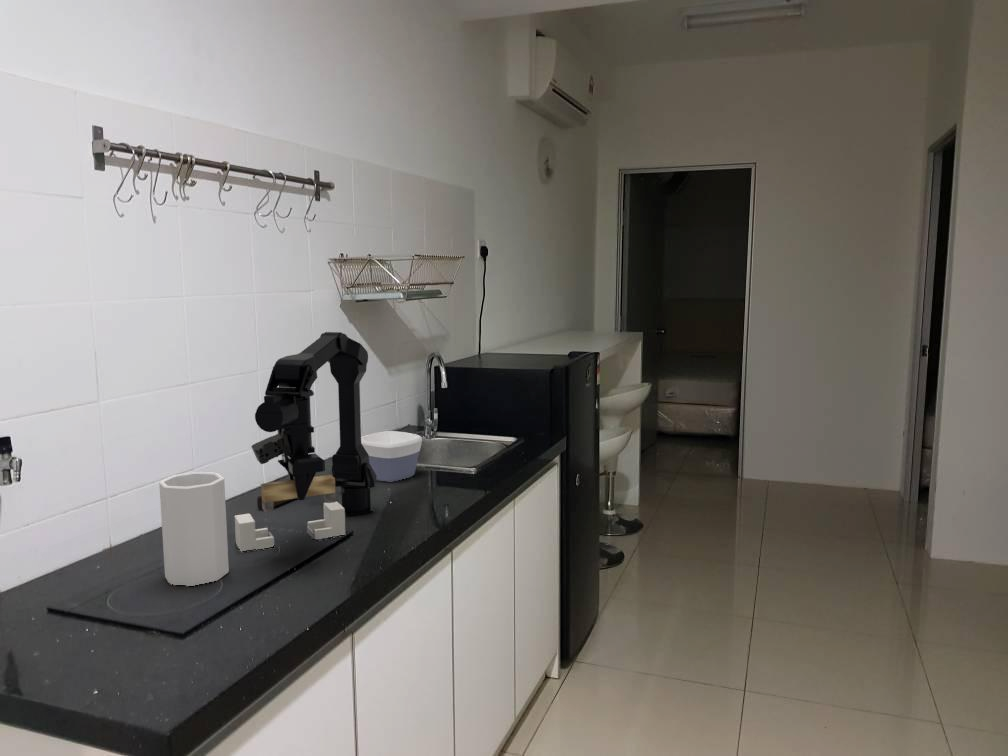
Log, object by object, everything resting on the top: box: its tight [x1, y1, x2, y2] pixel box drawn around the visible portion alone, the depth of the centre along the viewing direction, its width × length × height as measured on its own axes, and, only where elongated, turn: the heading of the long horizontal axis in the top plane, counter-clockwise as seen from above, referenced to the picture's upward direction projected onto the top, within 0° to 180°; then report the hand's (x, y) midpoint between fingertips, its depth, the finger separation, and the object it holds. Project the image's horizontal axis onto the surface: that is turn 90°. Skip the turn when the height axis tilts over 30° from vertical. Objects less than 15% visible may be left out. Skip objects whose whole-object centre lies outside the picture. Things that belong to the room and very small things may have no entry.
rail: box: [260, 474, 337, 514], centre depth 154 cm, size 14×3×5 cm, turn 118°
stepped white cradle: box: [234, 501, 346, 553], centre depth 163 cm, size 22×7×6 cm, turn 118°
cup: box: [159, 471, 230, 587], centre depth 142 cm, size 11×11×18 cm
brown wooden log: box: [256, 495, 293, 512], centre depth 190 cm, size 19×4×5 cm, turn 153°
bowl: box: [361, 430, 423, 483], centre depth 213 cm, size 15×15×11 cm
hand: (299, 497), depth 155 cm, fingers closed on rail, 3 cm apart
